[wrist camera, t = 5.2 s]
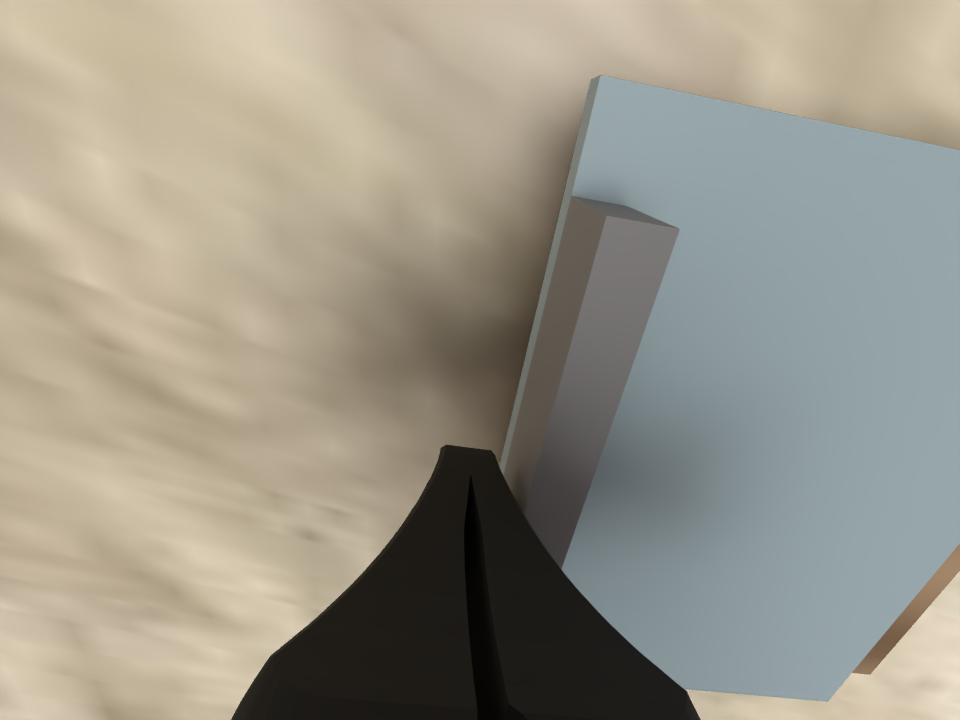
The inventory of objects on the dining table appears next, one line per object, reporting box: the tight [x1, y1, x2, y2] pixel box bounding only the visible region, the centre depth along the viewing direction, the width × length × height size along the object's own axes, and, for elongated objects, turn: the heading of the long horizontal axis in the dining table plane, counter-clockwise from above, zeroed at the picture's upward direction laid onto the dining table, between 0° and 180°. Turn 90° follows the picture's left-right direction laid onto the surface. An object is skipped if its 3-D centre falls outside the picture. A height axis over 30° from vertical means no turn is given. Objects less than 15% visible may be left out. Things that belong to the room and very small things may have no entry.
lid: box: [499, 75, 960, 702], centre depth 12 cm, size 18×14×4 cm
